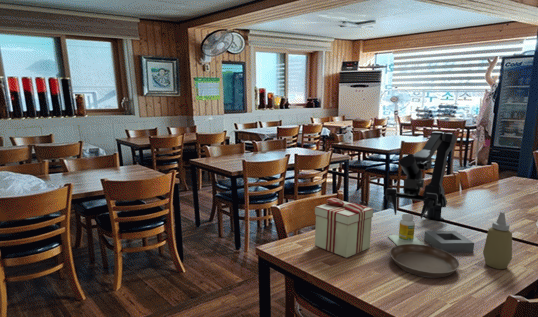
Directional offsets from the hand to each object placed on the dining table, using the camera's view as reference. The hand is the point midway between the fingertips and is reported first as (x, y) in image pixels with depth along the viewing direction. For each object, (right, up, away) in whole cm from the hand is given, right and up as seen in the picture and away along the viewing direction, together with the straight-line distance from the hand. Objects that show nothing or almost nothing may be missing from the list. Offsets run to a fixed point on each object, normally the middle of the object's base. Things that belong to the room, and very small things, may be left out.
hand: (407, 216), depth 137 cm
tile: (-1, -10, +1) cm, 10 cm away
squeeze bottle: (+21, -13, -19) cm, 31 cm away
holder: (+14, -10, -3) cm, 17 cm away
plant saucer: (-3, -13, -19) cm, 23 cm away
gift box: (-25, -10, -4) cm, 28 cm away
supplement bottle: (-1, -9, +1) cm, 9 cm away
